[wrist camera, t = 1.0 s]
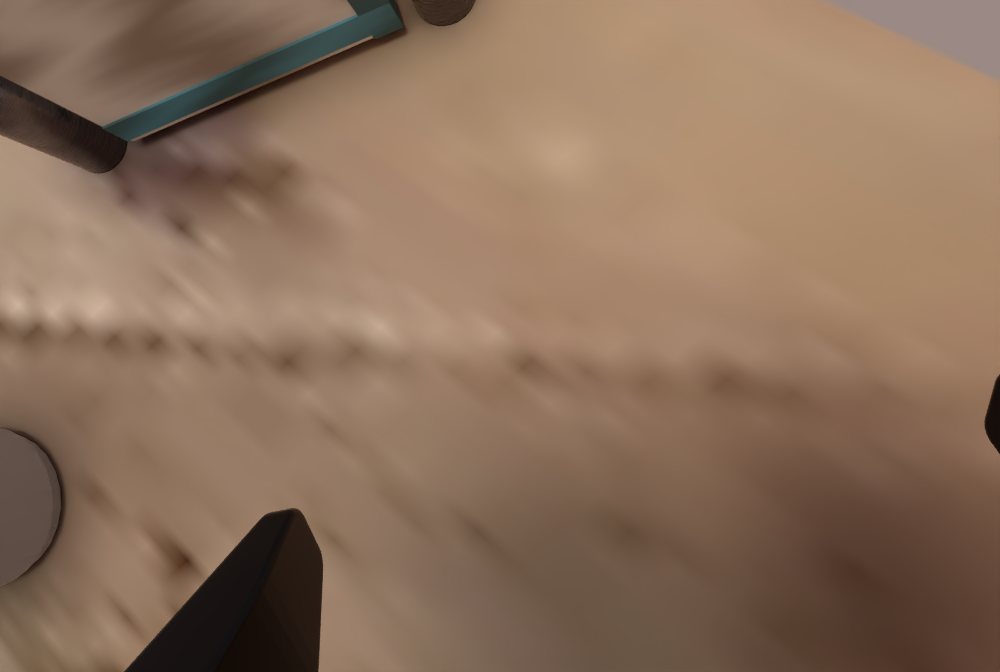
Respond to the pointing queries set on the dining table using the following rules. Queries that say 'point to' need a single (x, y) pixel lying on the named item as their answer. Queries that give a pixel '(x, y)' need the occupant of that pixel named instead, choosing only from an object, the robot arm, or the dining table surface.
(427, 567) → the dining table surface
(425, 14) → the gate posts
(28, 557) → the coffee cup
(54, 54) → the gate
